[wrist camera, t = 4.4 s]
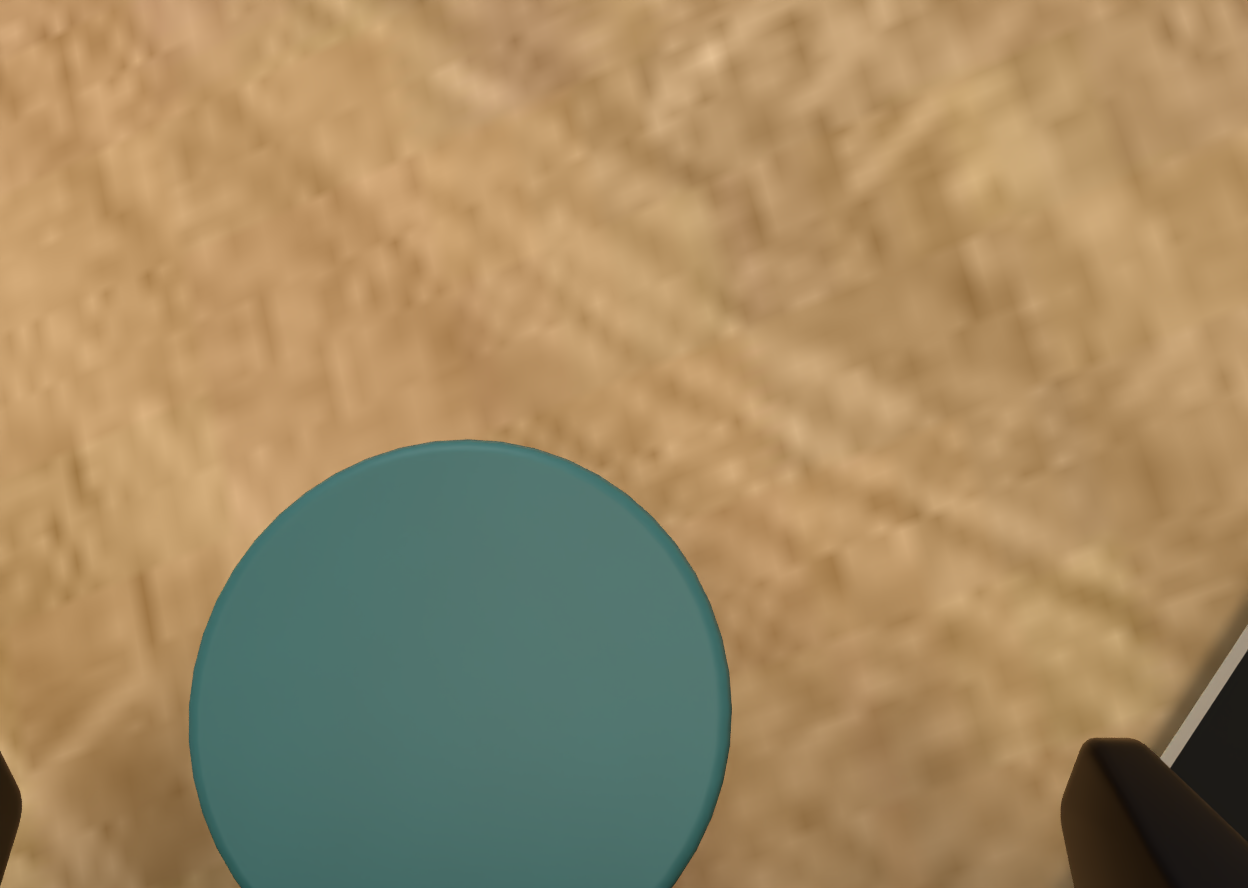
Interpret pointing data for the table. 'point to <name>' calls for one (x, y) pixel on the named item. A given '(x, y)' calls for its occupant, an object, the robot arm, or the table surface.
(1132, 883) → the robot arm
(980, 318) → the table surface
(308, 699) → the teal capped marker
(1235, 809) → the tablet
